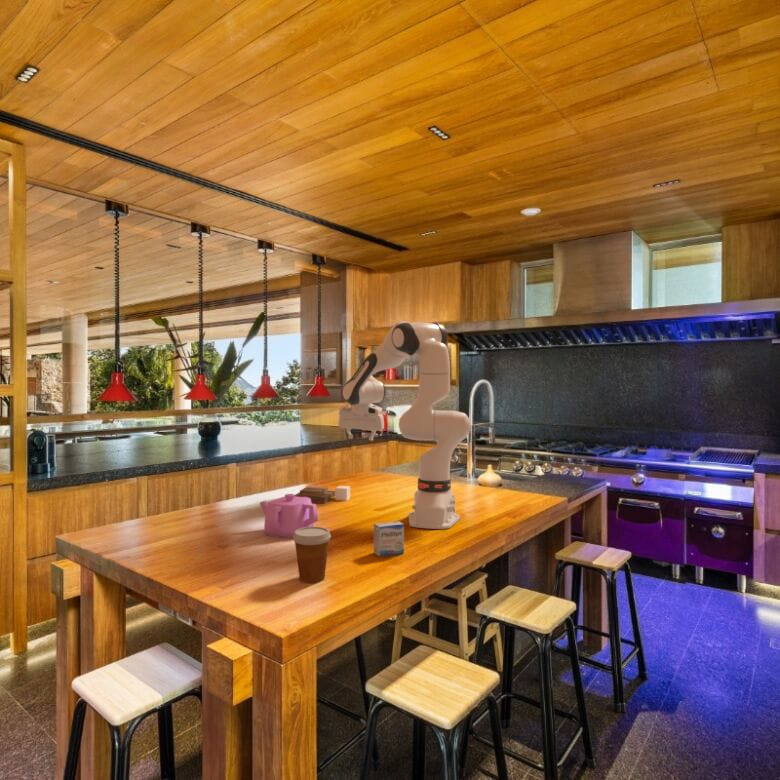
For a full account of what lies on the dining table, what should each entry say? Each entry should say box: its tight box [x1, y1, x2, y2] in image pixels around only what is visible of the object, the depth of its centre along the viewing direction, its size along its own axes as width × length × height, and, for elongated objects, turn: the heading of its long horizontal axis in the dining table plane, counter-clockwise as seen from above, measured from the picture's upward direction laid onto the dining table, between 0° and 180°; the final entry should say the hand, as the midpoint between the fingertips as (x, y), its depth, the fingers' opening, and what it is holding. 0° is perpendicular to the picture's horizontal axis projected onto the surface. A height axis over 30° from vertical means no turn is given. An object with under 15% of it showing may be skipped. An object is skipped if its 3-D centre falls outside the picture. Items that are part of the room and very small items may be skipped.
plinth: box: [294, 486, 335, 504], centre depth 223 cm, size 14×14×4 cm
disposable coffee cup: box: [292, 526, 332, 584], centre depth 135 cm, size 10×10×12 cm
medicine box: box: [373, 520, 405, 558], centre depth 154 cm, size 8×4×9 cm, turn 114°
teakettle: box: [259, 493, 319, 539], centre depth 176 cm, size 17×17×12 cm
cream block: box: [334, 485, 351, 502], centre depth 223 cm, size 5×5×5 cm
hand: (360, 439), depth 233 cm, fingers open, 8 cm apart
